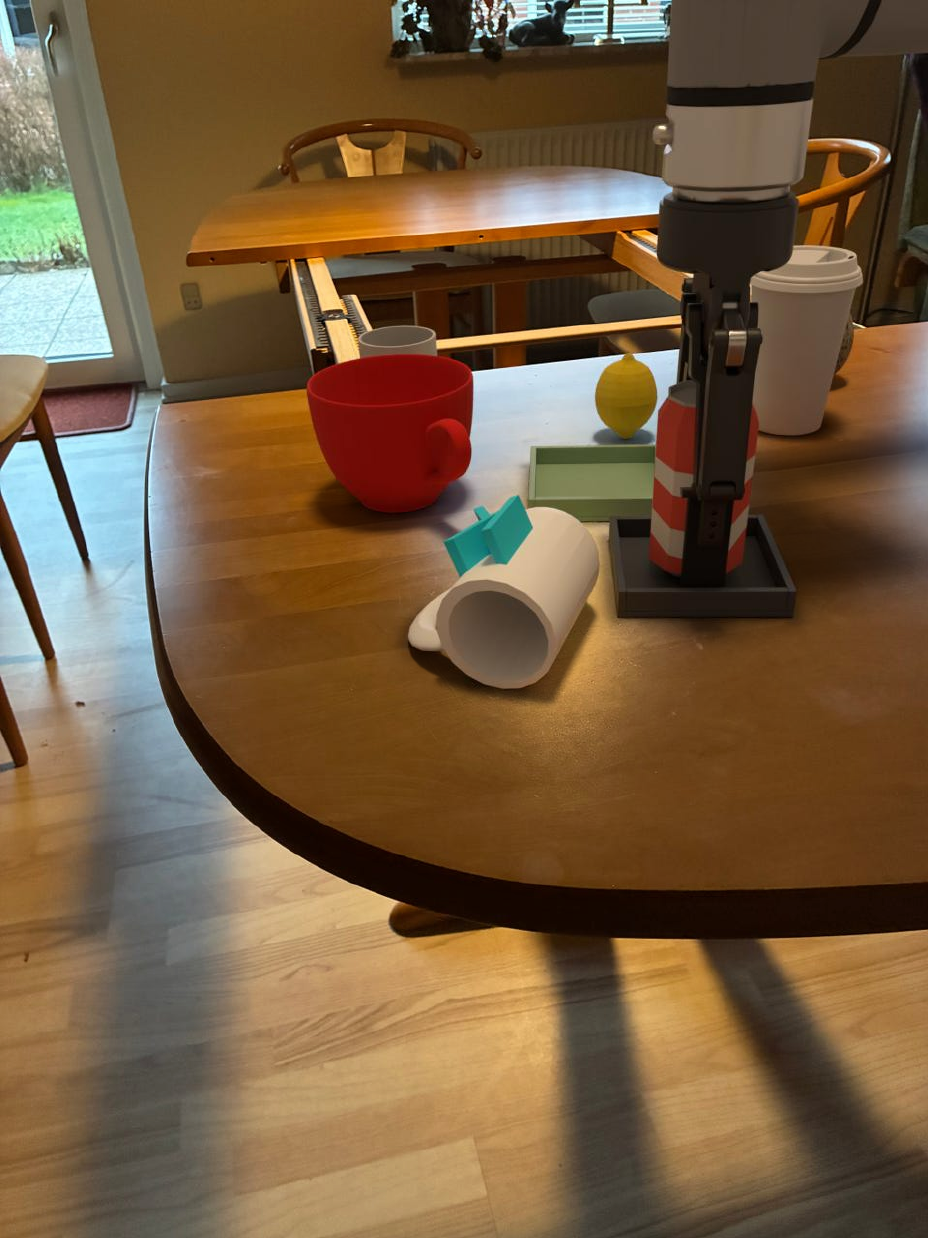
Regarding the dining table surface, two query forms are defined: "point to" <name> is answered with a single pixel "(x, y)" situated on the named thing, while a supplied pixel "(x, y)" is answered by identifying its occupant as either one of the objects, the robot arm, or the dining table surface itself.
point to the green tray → (593, 480)
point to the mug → (511, 594)
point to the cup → (397, 341)
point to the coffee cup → (801, 335)
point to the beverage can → (687, 481)
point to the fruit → (626, 396)
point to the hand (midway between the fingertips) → (695, 557)
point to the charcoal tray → (660, 594)
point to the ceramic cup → (394, 426)
